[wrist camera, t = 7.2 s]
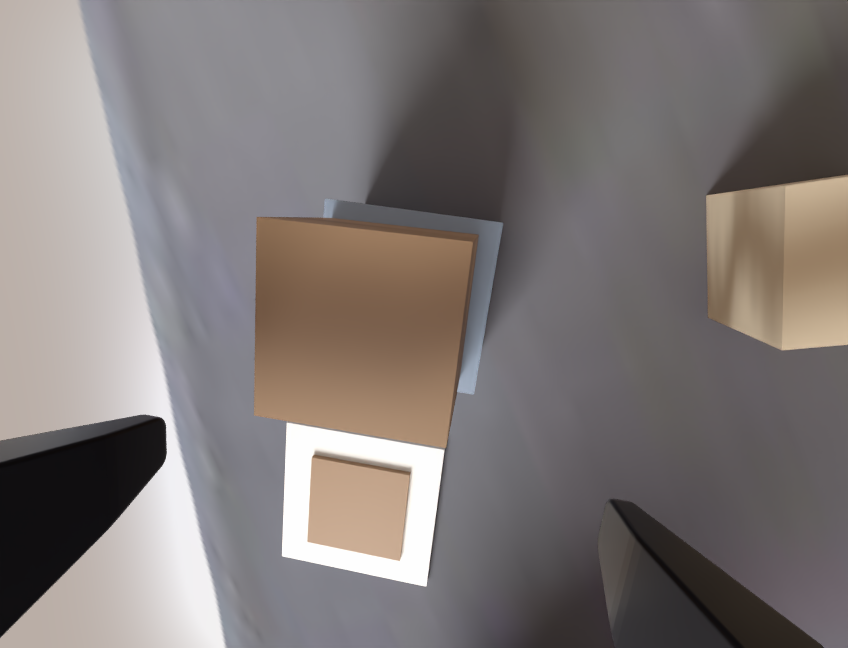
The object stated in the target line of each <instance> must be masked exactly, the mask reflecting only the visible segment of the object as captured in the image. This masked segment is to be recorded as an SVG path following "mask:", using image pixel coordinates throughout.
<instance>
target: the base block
mask: <svg viewBox="0 0 848 648" xmlns="http://www.w3.org/2000/svg"><path fill="white" fill-rule="evenodd" d="M324 218H337V219H346V220H355V221H364V222H372V223H381V224H390V225H399V226H408V227H417V228H426V229H434V230H443V231H452V232H461V233H470V234H479V238H478V245H477V253H476V260H475V268H474V275H473V283H472V290H471V298H470V305H469V313H468V320H467V328H466V335H465V343H464V350H463V358H462V365H461V373H460V379H459V385H458V390H457V392H462V393H467V394H473V395H474V390H475V385H476V379H477V373H478V367H479V361H480V355H481V350H482V344H483V338H484V332H485V326H486V321H487V315H488V309H489V303H490V297H491V291H492V286H493V280H494V274H495V268H496V262H497V257H498V251H499V245H500V239H501V233H502V227H503V223H502V222H495V221H488V220H480V219H473V218H466V217H458V216H451V215H444V214H436V213H429V212H422V211H414V210H407V209H400V208H392V207H385V206H378V205H370V204H363V203H355V202H348V201H340V200H333V199H325V205H324Z"/></svg>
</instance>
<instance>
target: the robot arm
mask: <svg viewBox="0 0 848 648" xmlns="http://www.w3.org/2000/svg"><path fill="white" fill-rule="evenodd" d="M166 450H167V449H166V424H165V421H164V420H163V419H162V418H160V417H155V416H150V415H138V416H133V417H127V418H122V419H116V420H111V421H105V422H100V423H94V424H89V425H83V426H78V427H72V428H67V429H62V430H56V431H50V432H45V433H40V434H35V435H29V436H23V437H18V438H13V439H7V440H1V441H0V638H1V637H2V636H3V635H4V634H5V633H6V632H7V631H8V630H9V629H10V628H11V626H13V625H14V624H15V623H16V622H17V621H18V620H19V619H20V618H21V617H22V616H23V615H24V614H25V613H26V612H27V611H28V610H29V609H30V608H31V607H32V606H33V605H34V603H36V601H38V600H39V599H40V598H41V597H42V596H43V595H44V594H45V593H46V591H47V590H49V588H50V587H51V586H53V584H54V583H56V581H57V580H59V578H60V577H61V576H62V575H63V574H64V573H65V572H66V571H67V570H68V569H69V568H70V567H71V566H72V565H73V564H74V563H75V562H76V561H77V560H78V559H79V558H80V557H81V556H82V555H83V554H84V553H85V552H86V551H87V550H88V549H89V548H90V547H91V546H92V545H93V544H94V543H95V542H96V541H97V540H98V539H99V538H100V537H101V536H102V535H103V534H104V533H105V532H106V531H107V530H108V529H109V528H110V527H111V526H112V525H113V523H114V522H115V521H116V520H117V519H118V518H119V517H120V515H121V514H122V513H123V512H124V511H125V509H126V508H127V507H128V506H129V505H130V503H131V502H132V501H133V500H134V499H135V497H136V496H137V495H138V494H139V493H140V492H141V490H142V489H143V488H144V487H145V486H146V484H147V483H148V482H149V481H150V480H151V479H152V477H153V476H154V475H155V473H157V471H158V470H159V469H160V468H161V467H162V465H163V463H164V461H165V459H166V454H167V451H166ZM598 554H599V560H600V566H601V573H602V579H603V585H604V592H605V598H606V604H607V610H608V617H609V623H610V628H611V634H612V638H613V642H614V646H615V648H824V647H823V646H822V645H821V644H820V643H818V642H817V641H816V640H814V639H813V638H812V637H810V636H809V635H808V634H806V633H805V632H804V631H802V630H801V629H800V628H798V627H797V626H796V625H794V624H793V623H792V622H790V621H789V620H788V619H786V618H785V617H784V616H782V615H781V614H780V613H778V612H777V611H776V610H774V609H773V608H772V607H770V606H769V605H768V604H766V603H765V602H764V601H763V600H761V599H760V598H759V597H757V596H756V595H755V594H753V593H752V592H751V591H749V590H748V589H747V588H745V587H744V586H743V585H741V584H740V583H739V582H737V581H736V580H735V579H733V578H732V577H731V576H729V575H728V574H727V573H725V572H724V571H723V570H721V569H720V568H719V567H717V566H716V565H715V564H713V563H712V562H711V561H709V560H708V559H707V558H705V557H704V556H703V555H701V554H700V553H699V552H697V551H696V550H695V549H693V548H692V547H691V546H690V545H688V544H687V543H686V542H684V541H683V540H682V539H680V538H679V537H678V536H676V535H675V534H674V533H672V532H671V531H670V530H668V529H667V528H666V527H664V526H663V525H662V524H660V523H659V522H658V521H656V520H655V519H654V518H652V517H651V516H650V515H648V514H647V513H646V512H644V511H643V510H642V509H640V508H639V507H638V506H636V505H635V504H634V503H632V502H629V501H623V500H618V499H609V500H608V501H607V503H606V506H605V510H604V514H603V518H602V523H601V527H600V531H599V536H598Z"/></svg>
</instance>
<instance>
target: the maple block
mask: <svg viewBox="0 0 848 648" xmlns="http://www.w3.org/2000/svg"><path fill="white" fill-rule="evenodd" d="M706 208H707V282H708V318H710V319H712V320H715V321H717V322H719V323H721V324H724V325H726V326H728V327H730V328H733V329H735V330H737V331H739V332H742V333H744V334H746V335H749V336H751V337H753V338H755V339H758V340H760V341H762V342H764V343H767V344H769V345H771V346H773V347H776V348H778V349H780V350H792V349H803V348H815V347H826V346H838V345H848V175H842V176H835V177H828V178H821V179H815V180H808V181H801V182H794V183H787V184H780V185H774V186H767V187H760V188H753V189H746V190H740V191H733V192H726V193H719V194H712V195H706Z"/></svg>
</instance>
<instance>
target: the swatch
mask: <svg viewBox="0 0 848 648" xmlns="http://www.w3.org/2000/svg"><path fill="white" fill-rule="evenodd" d="M444 451H445V448H442V447H436V446H431V445H425V444H419V443H413V442H407V441H401V440H395V439H389V438H384V437H378V436H372V435H366V434H360V433H354V432H348V431H343V430H337V429H331V428H325V427H319V426H313V425H307V424H302V423H296V422H290V421H288V422H287V433H286V461H285V488H284V516H283V544H282V556H284V557H289V558H294V559H299V560H303V561H308V562H313V563H317V564H322V565H327V566H332V567H336V568H341V569H346V570H350V571H355V572H360V573H365V574H369V575H374V576H379V577H383V578H388V579H393V580H398V581H402V582H407V583H412V584H417V585H421V586H426V585H427V579H428V571H429V564H430V556H431V549H432V541H433V534H434V526H435V519H436V511H437V504H438V496H439V489H440V481H441V474H442V466H443V459H444Z"/></svg>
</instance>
